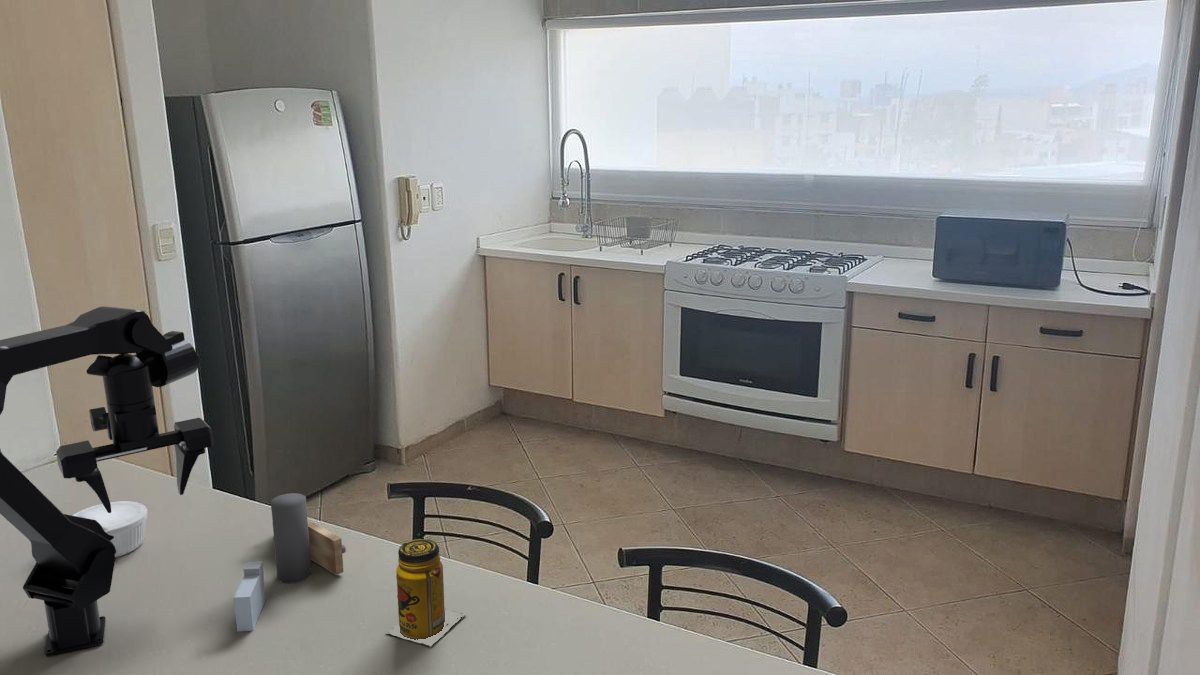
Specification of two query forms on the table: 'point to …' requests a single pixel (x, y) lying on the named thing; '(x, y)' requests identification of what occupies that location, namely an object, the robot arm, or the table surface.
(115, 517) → the ramekin
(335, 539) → the door
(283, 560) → the gray cylinder
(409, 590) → the condiment
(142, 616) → the table surface
